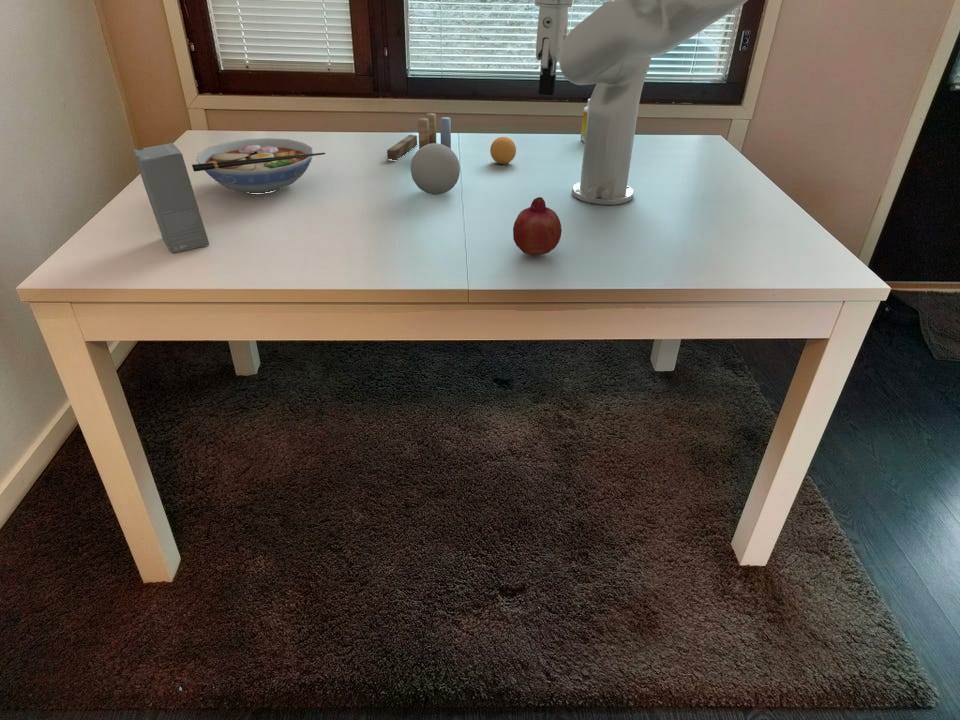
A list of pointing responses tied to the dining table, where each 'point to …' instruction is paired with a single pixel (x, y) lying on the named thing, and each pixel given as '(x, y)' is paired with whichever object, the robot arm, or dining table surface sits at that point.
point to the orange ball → (503, 150)
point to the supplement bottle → (584, 122)
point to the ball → (435, 169)
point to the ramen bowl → (256, 163)
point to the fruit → (537, 229)
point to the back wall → (402, 147)
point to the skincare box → (171, 196)
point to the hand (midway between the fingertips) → (546, 93)
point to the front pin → (445, 131)
